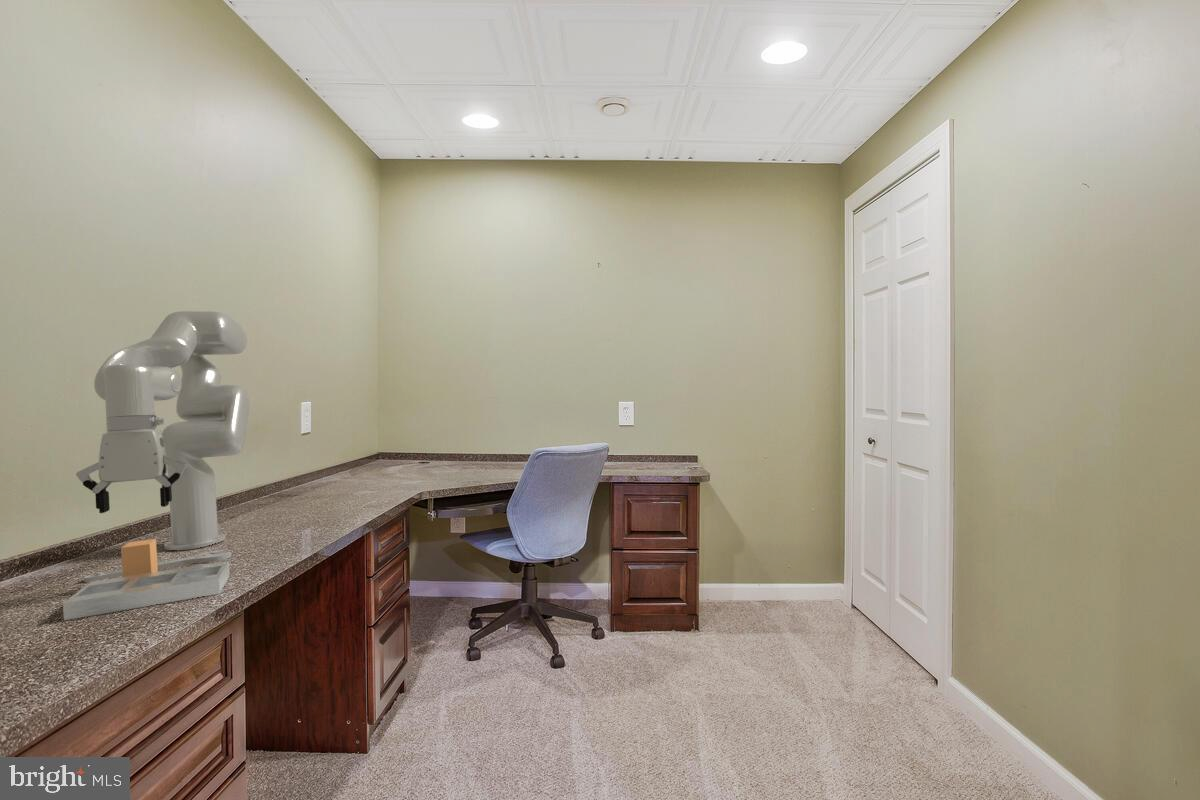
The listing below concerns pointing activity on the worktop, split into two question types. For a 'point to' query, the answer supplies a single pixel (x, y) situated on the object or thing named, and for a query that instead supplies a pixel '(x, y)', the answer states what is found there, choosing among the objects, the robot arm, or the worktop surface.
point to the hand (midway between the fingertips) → (135, 508)
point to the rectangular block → (139, 557)
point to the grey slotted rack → (168, 564)
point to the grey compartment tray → (146, 590)
